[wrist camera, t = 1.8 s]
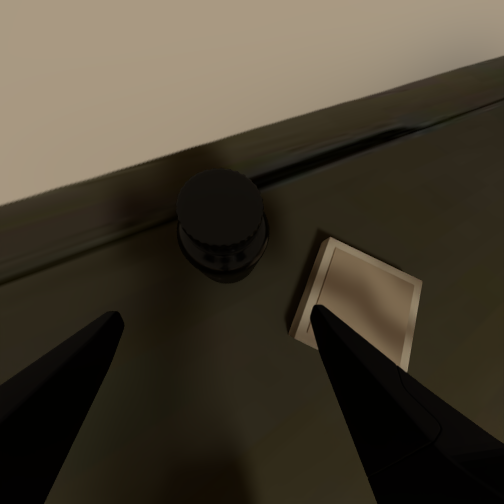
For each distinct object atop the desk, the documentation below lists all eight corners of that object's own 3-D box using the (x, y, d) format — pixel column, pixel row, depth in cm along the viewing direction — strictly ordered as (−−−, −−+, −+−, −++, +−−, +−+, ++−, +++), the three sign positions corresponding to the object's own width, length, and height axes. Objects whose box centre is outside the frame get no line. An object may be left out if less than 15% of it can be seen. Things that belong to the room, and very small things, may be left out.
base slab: (386, 382, 20) (405, 392, 17) (288, 334, 20) (294, 338, 18) (406, 282, 23) (423, 281, 21) (322, 242, 23) (330, 236, 21)
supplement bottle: (222, 218, 22) (212, 131, 11) (266, 250, 22) (306, 195, 10) (185, 261, 20) (125, 212, 9) (233, 297, 20) (235, 294, 8)
